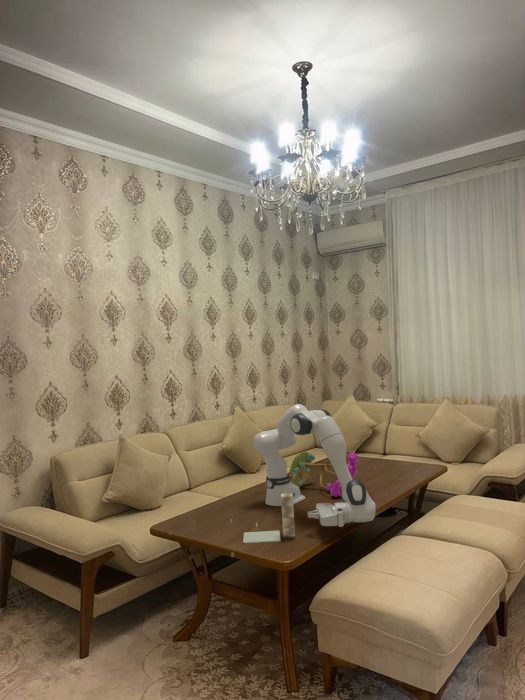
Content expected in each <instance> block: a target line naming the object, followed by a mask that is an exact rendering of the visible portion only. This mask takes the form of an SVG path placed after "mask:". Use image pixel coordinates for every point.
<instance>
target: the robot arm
mask: <svg viewBox="0 0 525 700" xmlns="http://www.w3.org/2000/svg"><path fill="white" fill-rule="evenodd" d="M311 434H312V435H313V434H316V436H317V438H318V440H319V442H320V444H321V447H322V449H323V451H324V454H326V457H327V458H328V460H330V462H329V463H330V464H332V466H331V467H332V468H333V470H334V473H336V474H335V475H336V478H337V480H338V481H339V483H340V486H341V495H340V498H341V501H342V502H334V503H333V504H332V503H330V502H320V503H319V502H318V503H316V504H315V509H314V510H312V511H307V518H309V519H318V520H319V523H320V526H322V527H339V528H340V527H341V528H342V527H344V525H345V524H350V523H355V524H356V523H367V522H371V521H373V520H374V519H375V517H376V515H377V504H376V502H375V501H374V500H373V499H372V497H371V496H370V494H369V492H368V490H367V486H366V485H365V483H364V482H363V481H362V480H359V479H354V478H353V479H352V477H351V475H350V472H349V470H348V467H347V459H346V458H347V449H348V447H347V444H346V440H345V437H344V435H343V432H342V430H341V429H340V427H339V425H338V424H337V422H336V421H335V419H334V418H333V417H332V415H331V413H330V411H328V410H327V409H322V408H321V409H320V408H318V409H313V410H311V409H310V410H308V408H307V407H306V406H305V405H303V404H301V403H296V404H294V405H292V406H291V407H289V409H287V410H286V411H285V412H284V413H283V414H282V416H281V417H280V418H279V419H278V420H277V422H276V428H274V429H270V430H264V431H262V432H261V431H260V432H258V433H257V434H255V435H254V436H253V440H252V443H253V447H254V449H255V450H256V451H257V452H258V453H259V454H261V456H262V458H263V460H264V462H265V470H266V476H265V478H266V479H265V483H266V497H265V505H267V506H273V507H282V504H281V494H286V493H292V495H293V505H296V504H298V503H300V502H301V501H303V500H306V497H305V495H302V494H301V489H300V488H299V487H298V486H296V485H295V484H293V483H292V482H290V479H293V475H289V474H288V464H287V460H286V459H285V458H284V457H282V456H280V454H279V451H280V450H285V449H286V450H287V449H288V448H291V447H293V446H294V445H295V444H297V443H296V442H297V438H298V437H297V435H298V436H306V435H311ZM288 475H289V476H288Z"/></svg>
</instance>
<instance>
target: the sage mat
mask: <svg viewBox="0 0 525 700" xmlns="http://www.w3.org/2000/svg"><path fill="white" fill-rule="evenodd" d="M242 542H243V543H245V544H257V543H261V544H262V542H263V543H275V542H276V543H278V542H281V533H280V530H265V531H249V532H247V531H246V532H243V539H242Z"/></svg>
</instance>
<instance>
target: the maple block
mask: <svg viewBox="0 0 525 700" xmlns="http://www.w3.org/2000/svg"><path fill="white" fill-rule="evenodd" d="M281 504H282V506H281V518H282V519H281V520H282V521H281V522H282V536H283V539H294V538H296V528H295V527H296V526H295V511H294V510H295V509H294V508H295V507H294V504H293V495H292V493H286V494H281Z"/></svg>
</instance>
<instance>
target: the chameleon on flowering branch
mask: <svg viewBox="0 0 525 700" xmlns="http://www.w3.org/2000/svg"><path fill="white" fill-rule="evenodd" d="M315 459H316V457H315V455H314V454H313V453H312V452H310V453H309V452H308V451H303V452H300V453H299V454H297V455H295V456H294V458H293V460H292V463H291V466H290V469H289V471H288V474H287V475H288V476H289V475H293V479H290V482H292V483H293V484H295V485H296V486H298V487H299V489H300V488H301V487H302V486H304V485H305V483H306V481H307V480H308V479H310V478H312V477H311V475H310V471H312V473H314V471H313V469H316V468H320V475H319V483H320V486H321V487H322V488H324V489H326V490H327V491H330V495H331V496H334V498H338V497H340V496H341V486H340V483H339V481H338V479H337V480H336V477H335V475H336V473H335V472H333V471H332V469H331V468H330V467H333V466H332V464H331V462H330V460H329V459H328V460H327V461H326V463H314V461H316V460H315ZM358 459H359V458H358V454H357V453H355V452H349V453H348V456H347V457H346V460H347V461H348V463H349V464H347V463H346V464H347V467H348V470H349V472H350V475H351V477H352V479H353V480H354V477H355V476H356V474H357V473H358V470H357V464H358ZM325 470H326V471H327V472H328V473H330V475H332V476H331V477H332V478H333V479H334V481H335V482H333V483H332V482H328V483H326V482H325V478H324V477H325V475H324V474H325ZM314 474H315V473H314ZM322 482H323V483H324V485H323V483H322Z"/></svg>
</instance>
